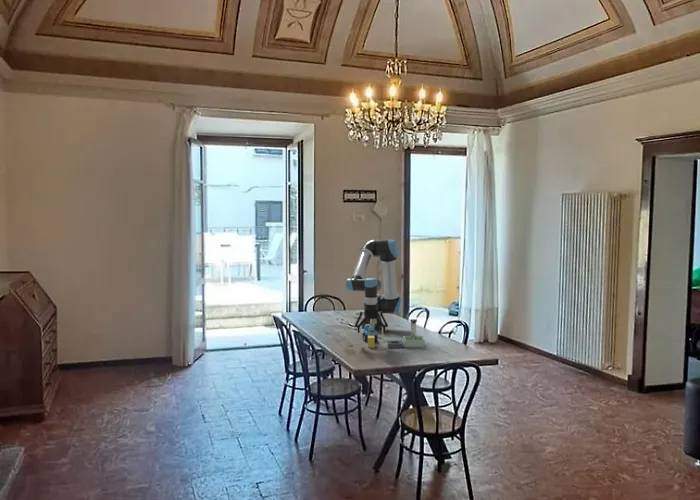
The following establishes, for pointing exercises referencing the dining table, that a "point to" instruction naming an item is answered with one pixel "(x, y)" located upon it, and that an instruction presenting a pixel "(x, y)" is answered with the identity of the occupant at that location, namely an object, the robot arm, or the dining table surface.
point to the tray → (414, 342)
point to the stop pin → (413, 329)
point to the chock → (371, 342)
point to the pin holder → (395, 344)
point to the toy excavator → (370, 330)
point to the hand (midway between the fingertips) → (371, 338)
